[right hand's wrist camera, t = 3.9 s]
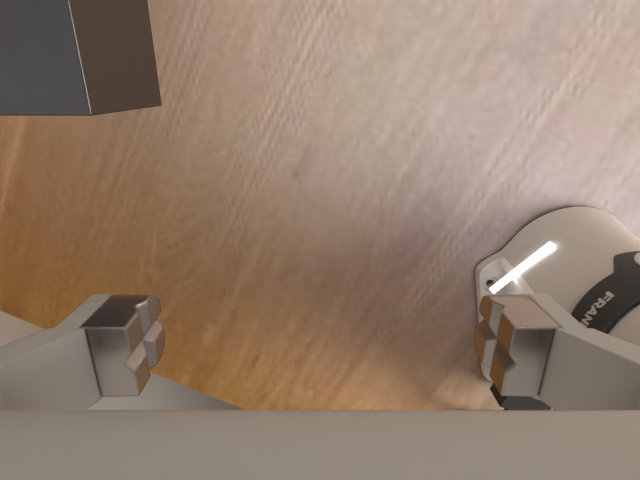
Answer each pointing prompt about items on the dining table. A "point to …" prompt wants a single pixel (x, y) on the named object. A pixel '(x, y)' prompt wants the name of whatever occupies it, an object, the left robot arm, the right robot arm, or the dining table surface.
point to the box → (76, 57)
